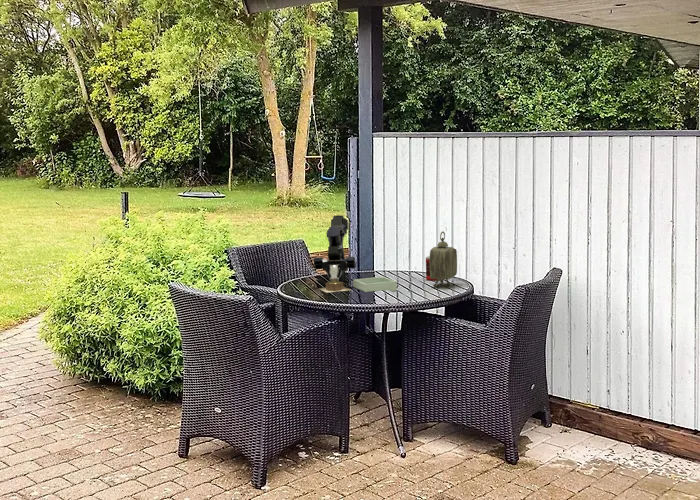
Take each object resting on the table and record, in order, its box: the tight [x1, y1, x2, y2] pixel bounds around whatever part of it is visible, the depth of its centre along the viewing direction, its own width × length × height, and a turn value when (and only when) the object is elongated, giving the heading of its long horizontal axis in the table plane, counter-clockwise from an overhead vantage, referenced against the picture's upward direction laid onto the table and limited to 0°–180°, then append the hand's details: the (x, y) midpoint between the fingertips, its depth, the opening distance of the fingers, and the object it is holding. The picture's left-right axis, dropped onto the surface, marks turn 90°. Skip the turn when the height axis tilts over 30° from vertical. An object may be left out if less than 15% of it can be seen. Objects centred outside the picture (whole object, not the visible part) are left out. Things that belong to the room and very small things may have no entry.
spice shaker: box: [328, 264, 340, 284], centre depth 349 cm, size 5×5×11 cm
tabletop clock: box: [429, 231, 458, 288], centre depth 354 cm, size 14×9×25 cm, turn 157°
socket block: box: [318, 281, 352, 294], centre depth 350 cm, size 12×12×4 cm
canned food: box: [425, 255, 441, 282], centre depth 373 cm, size 8×8×11 cm
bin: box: [352, 276, 398, 293], centre depth 350 cm, size 15×15×4 cm
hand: (334, 277), depth 348 cm, fingers closed on spice shaker, 4 cm apart
